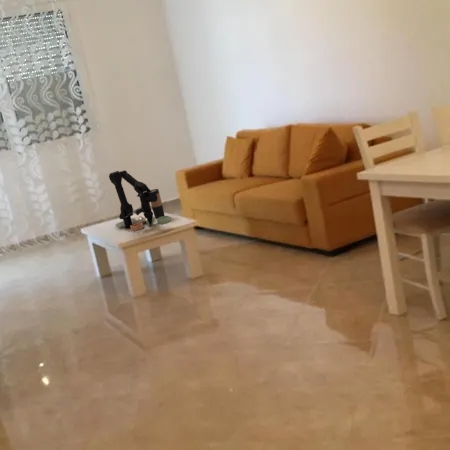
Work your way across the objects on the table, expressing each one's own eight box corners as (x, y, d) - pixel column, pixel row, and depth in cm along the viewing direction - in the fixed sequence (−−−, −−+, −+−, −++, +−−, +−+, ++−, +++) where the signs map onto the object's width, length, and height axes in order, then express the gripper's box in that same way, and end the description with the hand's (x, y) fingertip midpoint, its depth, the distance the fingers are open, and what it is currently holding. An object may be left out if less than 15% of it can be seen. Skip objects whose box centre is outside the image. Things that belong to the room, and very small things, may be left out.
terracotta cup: (129, 229, 483) (128, 225, 482) (139, 226, 487) (138, 222, 486) (134, 231, 476) (133, 226, 475) (145, 227, 480) (144, 223, 479)
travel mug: (154, 217, 505) (148, 190, 501) (164, 214, 506) (158, 188, 501) (154, 219, 498) (148, 192, 493) (165, 217, 498) (158, 190, 494)
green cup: (156, 223, 485) (155, 219, 485) (166, 219, 489) (165, 215, 489) (161, 224, 478) (160, 219, 478) (171, 220, 483) (170, 216, 482)
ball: (146, 226, 484) (144, 219, 482) (152, 223, 486) (150, 217, 485) (149, 226, 479) (147, 219, 478) (155, 224, 482) (153, 217, 481)
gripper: (132, 202, 487) (138, 224, 490) (134, 207, 469) (140, 229, 472) (148, 198, 488) (153, 220, 492) (150, 203, 470) (156, 225, 474)
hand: (150, 223), depth 482 cm, fingers closed on ball, 5 cm apart
